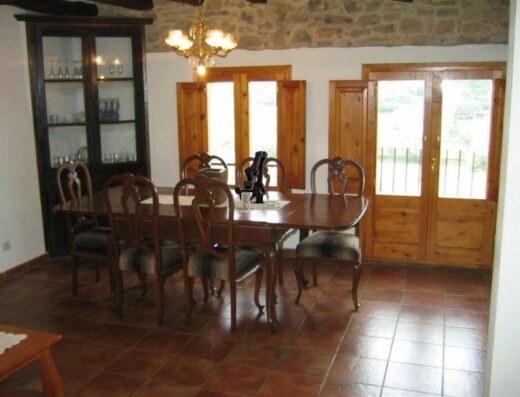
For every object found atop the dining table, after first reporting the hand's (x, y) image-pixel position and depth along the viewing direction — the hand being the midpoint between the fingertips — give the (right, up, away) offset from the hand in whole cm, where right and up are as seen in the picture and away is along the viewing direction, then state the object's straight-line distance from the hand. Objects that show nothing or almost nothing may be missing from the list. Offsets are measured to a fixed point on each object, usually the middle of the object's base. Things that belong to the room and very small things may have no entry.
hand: (245, 200), depth 392 cm
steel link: (0, -6, +2) cm, 7 cm away
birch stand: (-1, -8, -1) cm, 8 cm away
